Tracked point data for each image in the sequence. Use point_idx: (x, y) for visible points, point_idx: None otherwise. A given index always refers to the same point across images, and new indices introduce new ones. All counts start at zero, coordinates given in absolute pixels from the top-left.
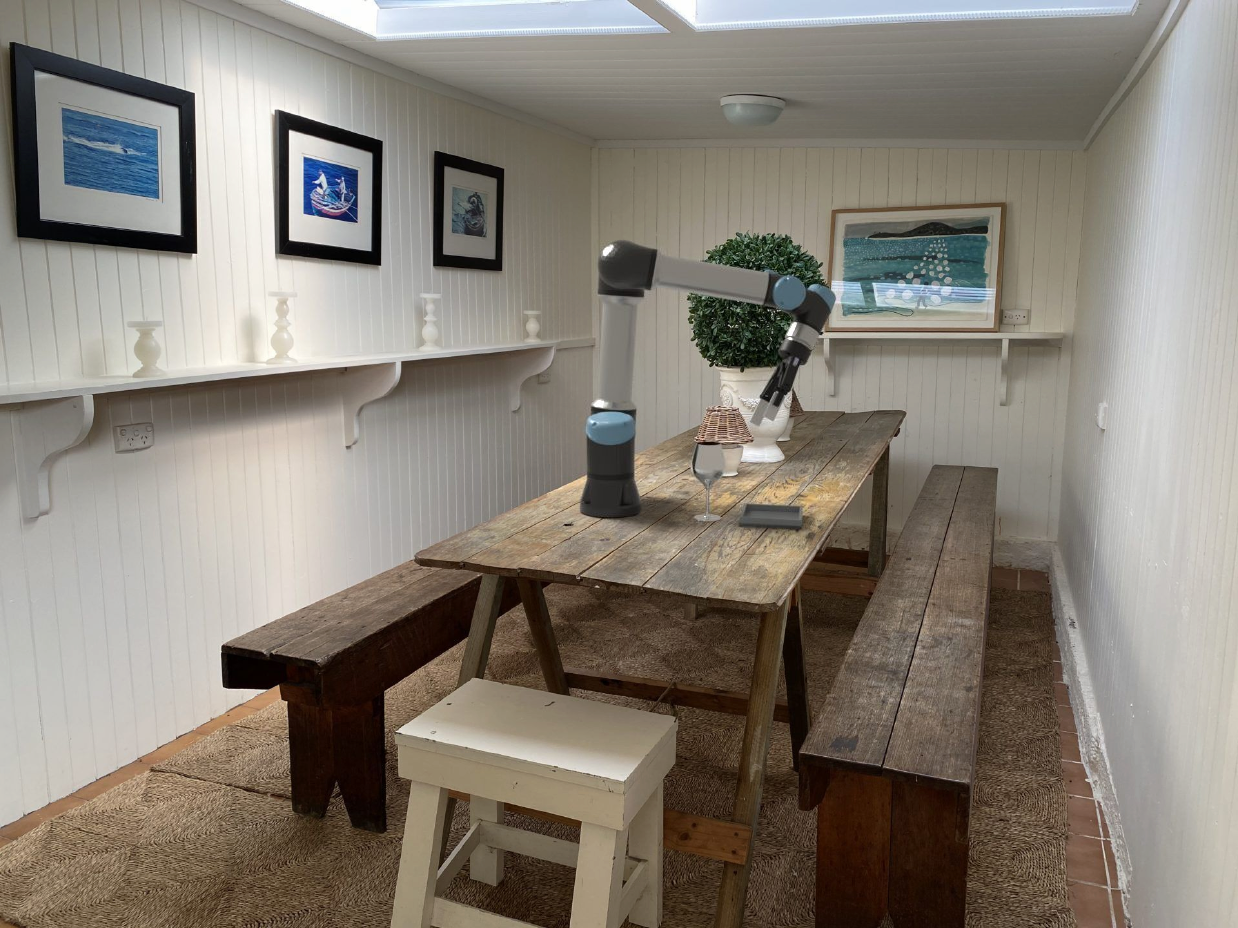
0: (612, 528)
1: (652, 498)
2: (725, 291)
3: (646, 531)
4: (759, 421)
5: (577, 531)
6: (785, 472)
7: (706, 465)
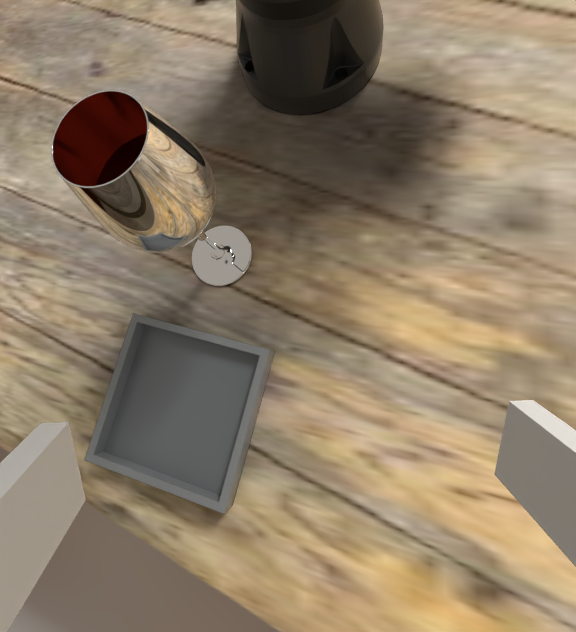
0: (166, 73)
1: (440, 135)
2: None
3: None
4: (520, 487)
5: (154, 19)
6: None
7: (95, 175)
